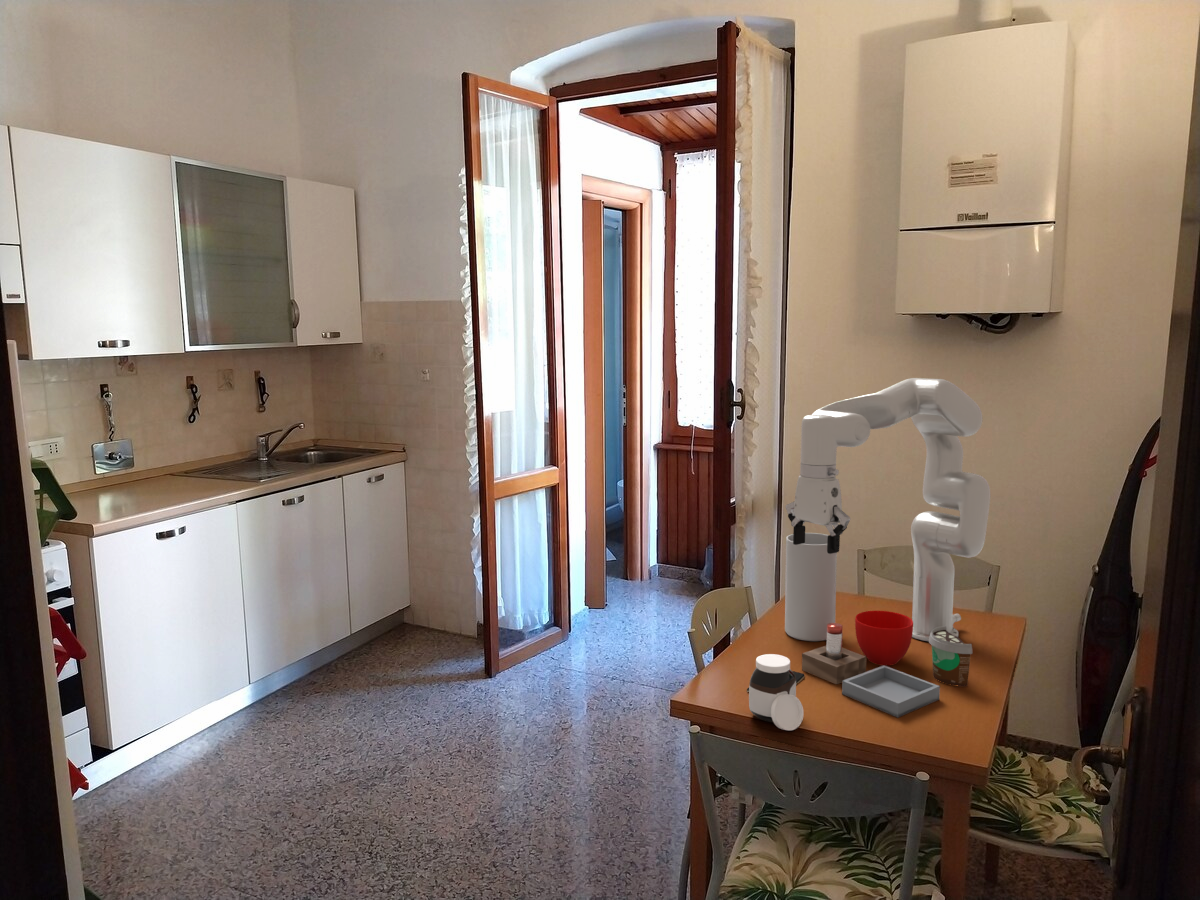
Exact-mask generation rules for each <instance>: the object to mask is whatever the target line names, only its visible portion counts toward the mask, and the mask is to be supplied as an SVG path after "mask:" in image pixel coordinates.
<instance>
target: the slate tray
mask: <svg viewBox="0 0 1200 900" xmlns="http://www.w3.org/2000/svg"><path fill="white" fill-rule="evenodd" d="M841 684H842V685H841V687H842V688H841V689H842V691H841V694H842V695H843V696H845V697H847V698H850V699H853V700H856V701H857V702H860V703H862V704H865V705H867V706H869V707H871V708H874V709H876V710H879V711H880V712H883V713H886V714H888V715H890V716H893V717H895V718H897V719H898V718H901V717H903V716H904V715H907V714H909V713H912V712H914V711H917V710H918V709H922V708H923V707H925V706H928V705H931V704H932V703H936V702H937V701H940V692H941V691H940V690H941V686H940V685H938V684H935V683H932V682H929V681H927V680H924V679H921V678H919V677H916V676H914V675H912V674H911V675H910V674H908V673H906V672H903V671H900V670H897V669H895V668H892V667H890V666H888V665H880V666H879V667H875V668H873V669H870V670H866V672H865V673H862V674H859V675H857V676H854V677H851V678H848V679H846V680H843V681H842V683H841Z"/></svg>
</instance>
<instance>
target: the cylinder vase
mask: <svg viewBox="0 0 1200 900" xmlns="http://www.w3.org/2000/svg"><path fill="white" fill-rule="evenodd" d="M828 535H829V534H824V533H817V532H805V543H803V544H798V545H794V544H793V533H792V534H789V535H786V540H785V593H784V595H785V596H784V597H785V598H784V599H785V601H784V604H785V605H784V612H785V613H784V631H785V633H786V634H787V635H788V636H789V637H791V638H794V639H796V640H799V641H805V642H821V641H827V624H829V623H836V610H837V609H836V608H837V607H836V604H837V603H836V602H837V600H836V599H837V598H836V597H837V596H836V595H837V565H838V564H837V557H838V552H837V553H832V554H829V553H827V539H828Z"/></svg>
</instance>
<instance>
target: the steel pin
mask: <svg viewBox="0 0 1200 900" xmlns="http://www.w3.org/2000/svg"><path fill="white" fill-rule="evenodd" d="M843 630H844V629H843V625H842V624H841V623H837V622H835V623H829V624H827V640H826V645H827V649H826V657H827V658H830V659H832V660H835V661H836V660H839V659H842V648H843Z"/></svg>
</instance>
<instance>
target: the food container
mask: <svg viewBox="0 0 1200 900" xmlns="http://www.w3.org/2000/svg"><path fill="white" fill-rule="evenodd" d="M928 643H929V644H930V645H931V656H932V658H931V659H932V660H931V661H932V677H933V678H934V679H935V680H936V679H937V680H936V681H938V680H939V681H938V682H940V681H941V682H940V683H942V682H944V683H943V684H945V683H946V684H945V685H948V684H951V685H950V686H953V685H958V686H957V687H968V684H969V674H970V665H971V664H970V663H971V655H973V645H972V644H973V643H964V642H963V640H962V639H960V637H959V636H958V637H957V636H955V635H952V634H951V633H949V632H948V631H947V628H946V626H942V627H937V628H935V629H933V630H932V632H931V634H930V637H929V641H928Z"/></svg>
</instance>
